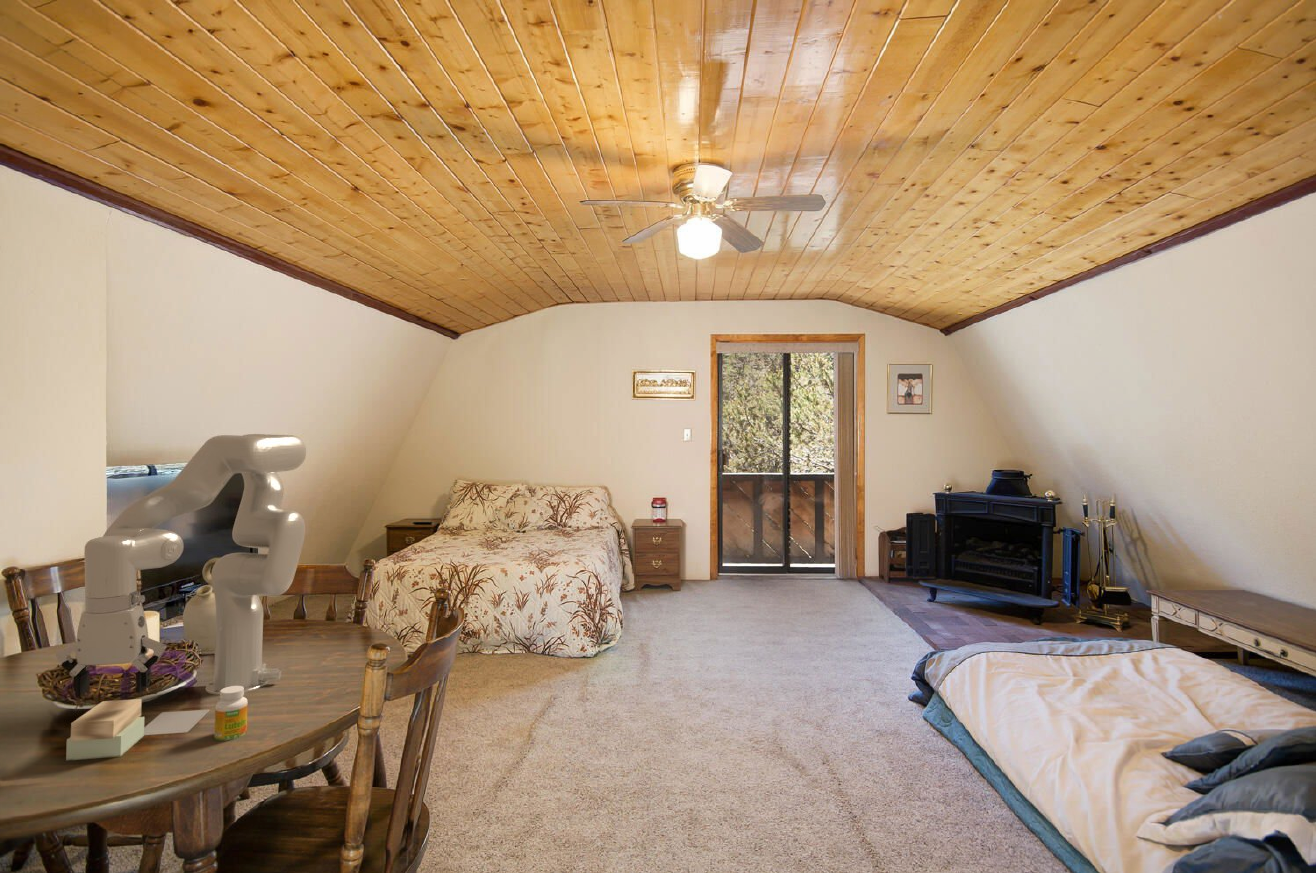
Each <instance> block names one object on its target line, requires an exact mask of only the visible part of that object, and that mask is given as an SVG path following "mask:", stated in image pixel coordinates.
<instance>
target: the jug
mask: <svg viewBox="0 0 1316 873" xmlns="http://www.w3.org/2000/svg"><path fill="white" fill-rule="evenodd" d="M220 558H221V557H213V558H211V559H209V560H208V561H206V563H204V566H203V568H202V578H203V580H204V581H205V583H207V584H205V585H201V586H199V587H198V588H197V589H196V591H195V595H193V596H192V597H191V598H190V599H189V600H188V602H187V603H186V605H185V607H184V609H183V614H182V625H183V631H184V635H185V641H186V640H194V641H196V643H197V644H198V645H199V646H200V649H201V656H203V655H204V656H205V655H215V626H216V604H215V595H214V590H213V586H212V580H211V570H212V569H211V568H212V566H214V564H215V563H216V562H217V561H218V560H219V559H220Z"/></svg>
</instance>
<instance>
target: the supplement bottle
mask: <svg viewBox="0 0 1316 873" xmlns="http://www.w3.org/2000/svg"><path fill="white" fill-rule="evenodd" d="M244 695H245V692H244V687H242V686H230V687H226V688H223V689H222V690H221V691H220V695H219V699H220V700H218V701H217V703H216V704H215V708H214V709H215V710H214V712H215V713H214V737H213V738H214V739H215V740H216V741H219V742H220V741H223V742H225V741H226V742H227V741H232V740H236V739H239V738H241V737H243V736H245V735H247V731H248V704H249V702H248V699H247V698H246V697H245V696H244Z"/></svg>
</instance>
